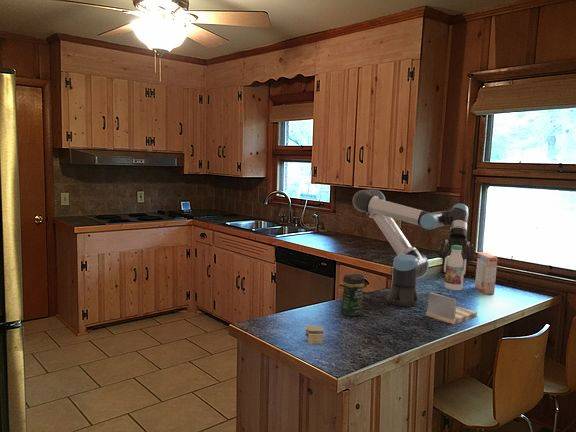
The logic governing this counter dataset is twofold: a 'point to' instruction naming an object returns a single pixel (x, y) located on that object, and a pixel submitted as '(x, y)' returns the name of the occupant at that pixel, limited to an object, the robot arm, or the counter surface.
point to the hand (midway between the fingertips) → (454, 271)
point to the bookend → (442, 305)
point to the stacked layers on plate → (314, 334)
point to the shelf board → (460, 315)
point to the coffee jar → (352, 295)
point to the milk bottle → (454, 269)
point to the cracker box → (486, 273)
